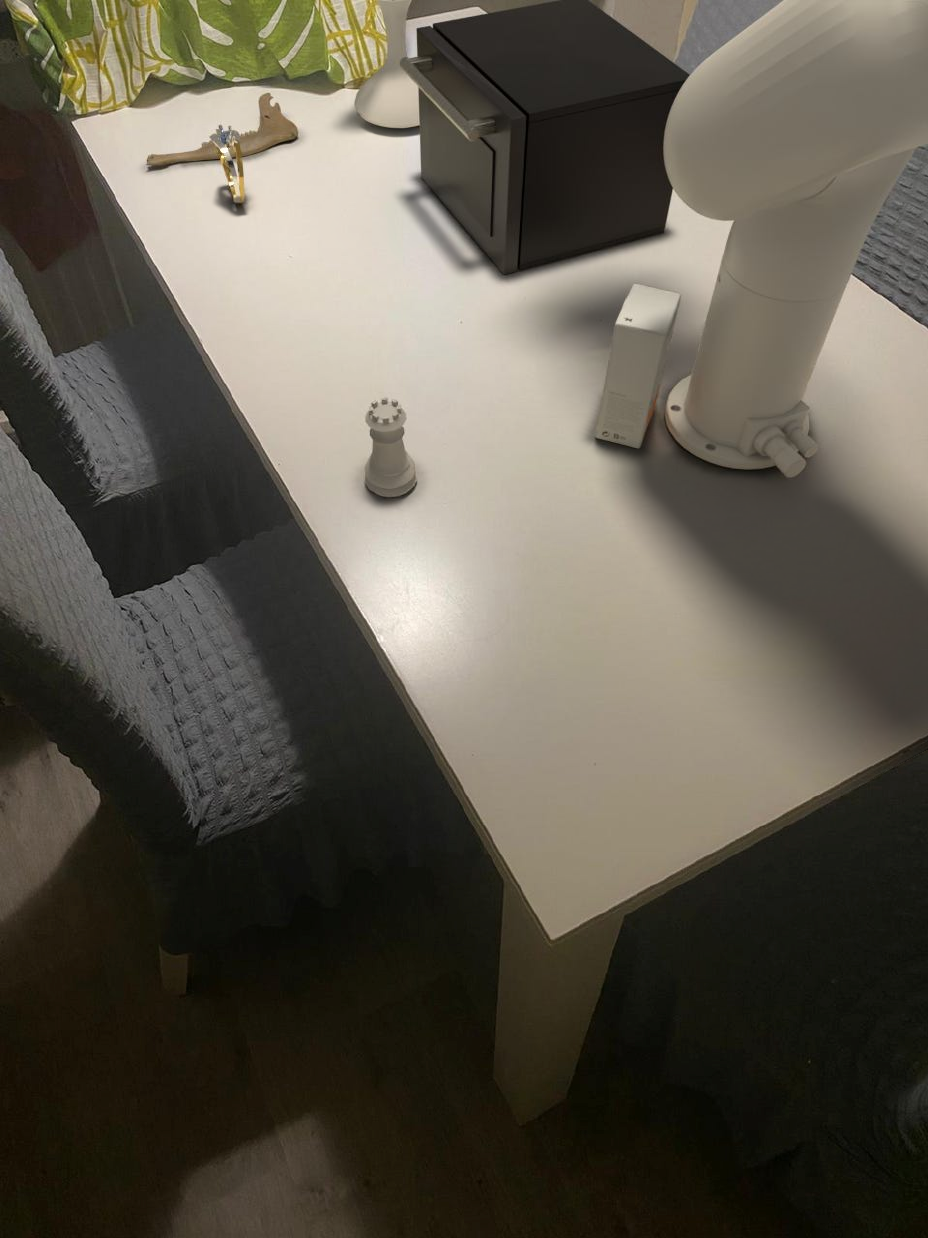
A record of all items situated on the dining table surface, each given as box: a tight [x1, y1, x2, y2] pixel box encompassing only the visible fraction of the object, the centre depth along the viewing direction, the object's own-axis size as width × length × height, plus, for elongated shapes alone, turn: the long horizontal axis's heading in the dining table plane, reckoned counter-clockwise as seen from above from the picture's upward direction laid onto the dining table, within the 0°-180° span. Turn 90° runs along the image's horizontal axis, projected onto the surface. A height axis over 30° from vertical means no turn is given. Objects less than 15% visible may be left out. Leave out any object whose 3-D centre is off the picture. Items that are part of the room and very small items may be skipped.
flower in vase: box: [353, 0, 420, 129], centre depth 105 cm, size 13×11×25 cm
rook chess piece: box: [364, 396, 418, 498], centre depth 73 cm, size 4×4×8 cm
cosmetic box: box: [594, 283, 682, 449], centre depth 76 cm, size 6×4×12 cm
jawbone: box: [145, 92, 299, 166], centre depth 109 cm, size 9×20×2 cm, turn 141°
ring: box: [208, 124, 245, 204], centre depth 100 cm, size 7×3×8 cm, turn 19°
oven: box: [432, 0, 691, 272], centre depth 97 cm, size 18×22×16 cm
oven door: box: [400, 25, 526, 276], centre depth 94 cm, size 5×22×16 cm, turn 25°
